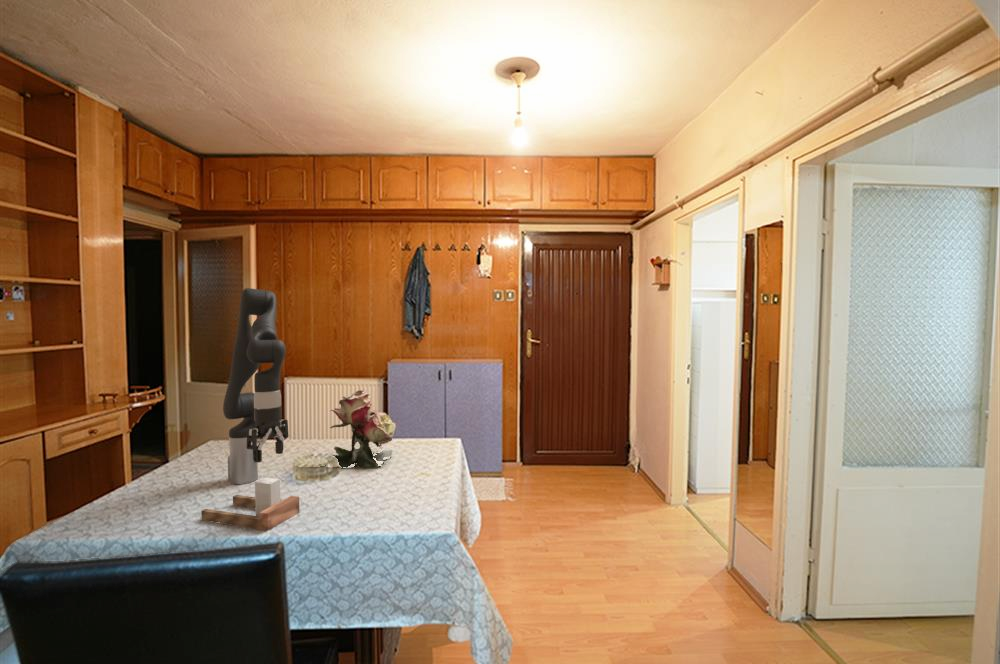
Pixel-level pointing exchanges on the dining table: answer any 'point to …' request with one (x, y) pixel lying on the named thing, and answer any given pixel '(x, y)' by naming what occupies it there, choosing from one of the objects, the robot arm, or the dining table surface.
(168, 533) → the dining table surface
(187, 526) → the dining table surface
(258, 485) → the skincare box
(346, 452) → the rose bouquet
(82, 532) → the dining table surface
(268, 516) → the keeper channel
